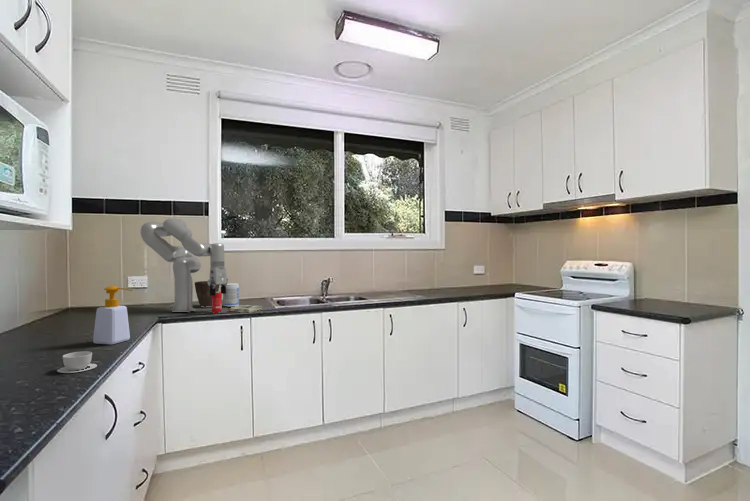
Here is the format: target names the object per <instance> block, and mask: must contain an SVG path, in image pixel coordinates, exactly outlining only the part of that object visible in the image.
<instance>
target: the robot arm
mask: <svg viewBox="0 0 750 501" xmlns="http://www.w3.org/2000/svg"><path fill="white" fill-rule="evenodd" d="M170 236H172V237H173V238H175V239H176V240H177V241H179V242H180V243H181V245H182V246H179V245H178V246H176V245H172V244H171V243H169V242H168V240H166V239H164V238H163V237H170ZM192 236H193V232H192V230H191V229H189V228H188V227H187V224H186V222H185V221H184V220H182V219H180V218H179V219H178V218H167V219H164V221H163V222H159V221H148V222H145V223H143V225H141V228H140V237H141V239H142V241H143V242H144V243H145V244H146V245H147V246H148V247H149V248H151V249H152V250H153V251H154V252H155V253H156V254H157V255H159V256H160V257H161V258H162V259H163V260H164V261H166V262H167V263H172V271H173V276H174V303H172V304H170V305H169V308H171V311H172V312H188V313H191V312H190V311H194V310H195V311H196V309H195V308H193V288H194V287H193V285H194V284H193V277H192V275H191V274H195V273H197V272H198V271H200V270H201V266H202V264H201V260H200V259H199V258H198V257H209V259H210V260H209V261H210V262H209V263H210V270H209V279H208V280H206V281H207V283H208V286H209V288H210V296H215V295H216V292H215V286H216V285H219V286H220V292H221V293H222V295H223V294H226V286H227V284H228V280H229V279H228V278H227V270H226V267H225V246H224V244H223V243H217V242H216V243H204V242H203V243H201V242H198V241H197V240H196V239H194V238H193V237H192ZM195 311H194V312H195ZM172 312H171V313H172Z"/></svg>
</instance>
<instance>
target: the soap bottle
mask: <svg viewBox="0 0 750 501" xmlns="http://www.w3.org/2000/svg"><path fill="white" fill-rule="evenodd" d="M103 290H104V291H105V292H106V294H109V298H108V299H107V298H105V299H104V306H100V307H97V308H96V313H95V318H94V319H95V321H94V327H93V328H94V329H93V338H92V342H93V343H94V344H97V345H109V346H110V345H115V344H119V343H124V342H126V341H129V340H130V339H131V334H130V326H129V316H128V314H129V313H128V307H127V306H126V305H120V304H119V303H120V299H119V298H115V294H118V293H119V292H118V291H119V290H125V291H129V292H132V291H133V289H129V288H126V287H125V288H124V287H119V286H115V285H110V286H107V287H104V289H103Z"/></svg>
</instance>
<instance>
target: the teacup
mask: <svg viewBox="0 0 750 501" xmlns="http://www.w3.org/2000/svg"><path fill="white" fill-rule="evenodd" d="M92 359H93V352H92V351H88V350H87V351H85V350H84V351H74V352H69V353H66V354H63V355H62V361H63V362H62V363H63V365H64V367H60V368H59V369H56V372H58V373H61V374H72V373H73V374H74V373H79V372H80V373H81V372H86V371H89V370H93V369H95V368H97V366H98V364H96V363H91V362H92ZM87 366H90V368H87V369H85V368H86V367H87ZM81 369H84V370H81ZM69 370H70V371H69ZM75 370H79V371H75Z"/></svg>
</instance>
